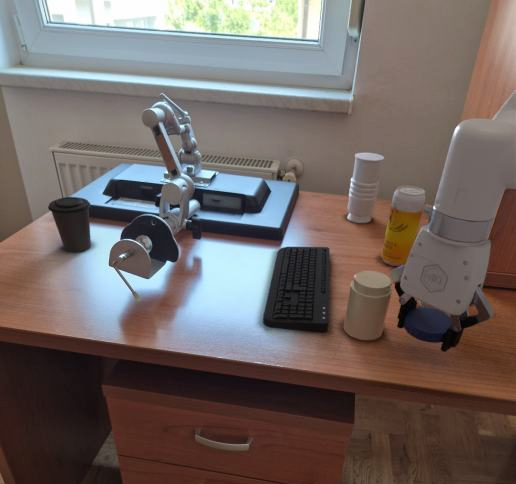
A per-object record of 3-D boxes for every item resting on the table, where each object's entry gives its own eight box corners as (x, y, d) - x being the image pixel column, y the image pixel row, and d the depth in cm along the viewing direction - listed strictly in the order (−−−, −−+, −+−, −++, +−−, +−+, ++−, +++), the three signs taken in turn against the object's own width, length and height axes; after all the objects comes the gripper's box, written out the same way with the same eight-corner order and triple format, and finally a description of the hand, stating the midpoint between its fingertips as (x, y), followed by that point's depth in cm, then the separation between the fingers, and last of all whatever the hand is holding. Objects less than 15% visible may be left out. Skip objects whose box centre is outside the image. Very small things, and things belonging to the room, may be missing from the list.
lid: (394, 327, 72) (396, 317, 71) (420, 311, 76) (423, 302, 75) (435, 349, 68) (438, 339, 67) (460, 331, 72) (464, 322, 70)
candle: (375, 216, 121) (386, 154, 112) (370, 225, 116) (381, 161, 107) (348, 211, 123) (357, 151, 114) (342, 220, 118) (351, 157, 109)
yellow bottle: (376, 254, 103) (390, 184, 94) (403, 254, 103) (419, 184, 94) (385, 267, 98) (401, 195, 89) (414, 267, 98) (432, 195, 90)
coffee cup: (49, 246, 100) (38, 199, 94) (83, 235, 105) (74, 190, 99) (71, 258, 96) (60, 210, 90) (105, 246, 101) (97, 200, 95)
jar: (390, 330, 79) (402, 280, 73) (366, 345, 75) (377, 293, 70) (359, 314, 83) (369, 265, 77) (335, 327, 79) (343, 277, 74)
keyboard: (277, 250, 103) (278, 241, 101) (328, 255, 102) (329, 246, 100) (261, 326, 79) (262, 316, 78) (327, 332, 78) (328, 322, 77)
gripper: (387, 210, 65) (364, 319, 75) (511, 255, 55) (465, 374, 65) (418, 199, 69) (392, 304, 80) (539, 239, 59) (491, 354, 69)
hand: (425, 335), depth 72 cm, fingers closed on lid, 7 cm apart
